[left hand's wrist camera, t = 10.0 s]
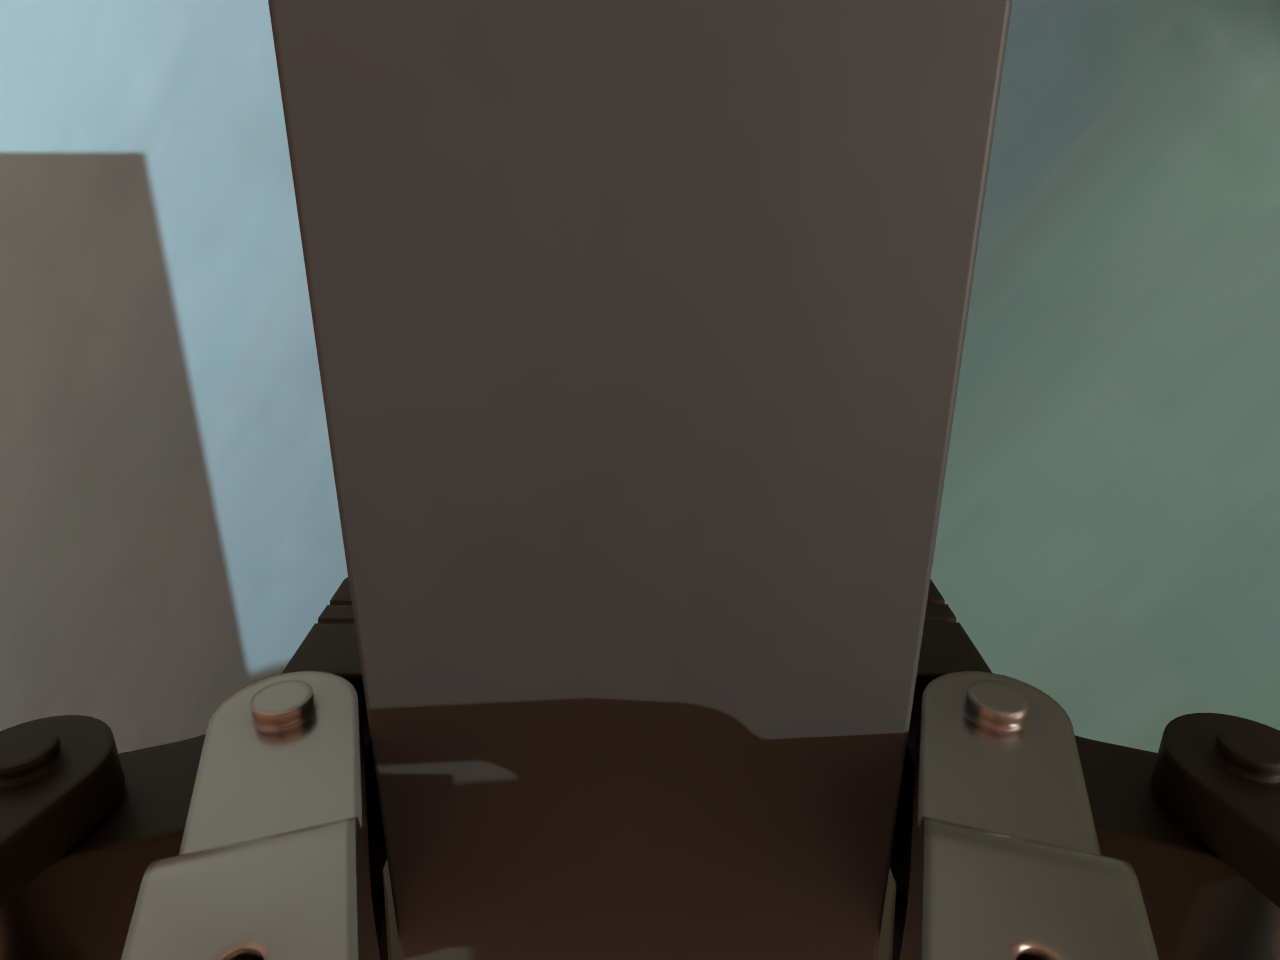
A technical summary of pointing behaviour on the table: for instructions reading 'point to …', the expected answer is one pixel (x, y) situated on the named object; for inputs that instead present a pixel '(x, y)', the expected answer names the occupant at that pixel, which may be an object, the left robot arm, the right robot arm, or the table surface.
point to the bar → (639, 444)
